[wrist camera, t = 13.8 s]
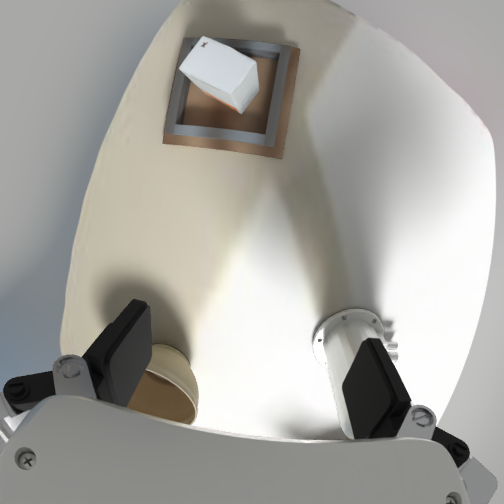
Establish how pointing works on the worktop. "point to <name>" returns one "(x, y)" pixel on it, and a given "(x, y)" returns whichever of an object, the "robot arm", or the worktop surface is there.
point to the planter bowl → (167, 387)
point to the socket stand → (227, 119)
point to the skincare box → (222, 73)
